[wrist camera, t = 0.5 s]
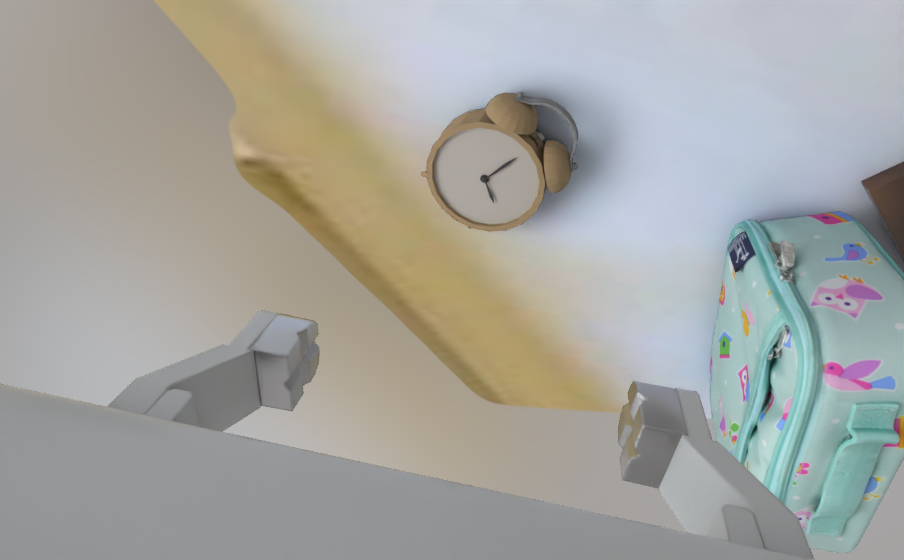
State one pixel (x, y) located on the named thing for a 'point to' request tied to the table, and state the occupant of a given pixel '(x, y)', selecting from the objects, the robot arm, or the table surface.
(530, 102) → the alarm clock
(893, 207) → the platform
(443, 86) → the table surface
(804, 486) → the lunch box
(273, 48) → the table surface
